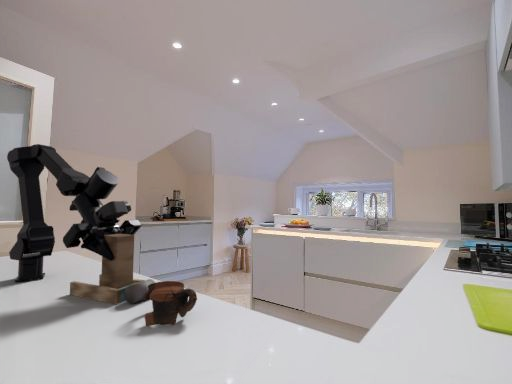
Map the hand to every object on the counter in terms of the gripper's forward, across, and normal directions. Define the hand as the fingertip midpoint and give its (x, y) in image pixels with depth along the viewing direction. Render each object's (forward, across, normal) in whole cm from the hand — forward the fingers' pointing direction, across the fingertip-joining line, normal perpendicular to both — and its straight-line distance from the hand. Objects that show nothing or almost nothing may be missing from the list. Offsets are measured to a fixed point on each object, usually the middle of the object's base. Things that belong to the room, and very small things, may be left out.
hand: (122, 257), depth 68 cm
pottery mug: (+20, -5, -7) cm, 22 cm away
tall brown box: (+4, 0, +6) cm, 7 cm away
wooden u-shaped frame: (+5, 0, +8) cm, 10 cm away
